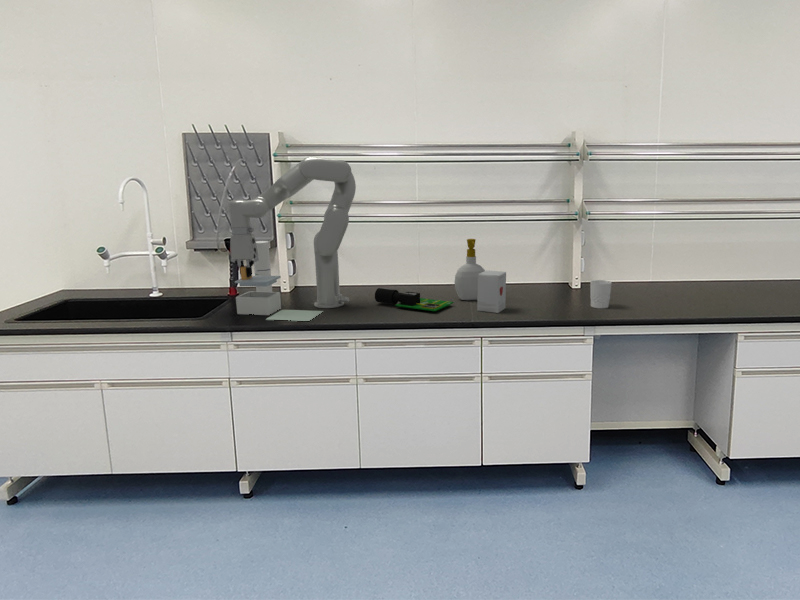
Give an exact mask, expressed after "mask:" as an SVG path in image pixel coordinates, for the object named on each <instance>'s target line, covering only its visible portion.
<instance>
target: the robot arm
mask: <svg viewBox="0 0 800 600" xmlns="http://www.w3.org/2000/svg"><path fill="white" fill-rule="evenodd" d="M314 180H315V181H323V182H333V183H334V190H333V192H332V195H331V199H330V201H329V203H328V205H327V208H326V209H325V212H324V214H323V221H322V224H321V227H320V229H319V231H318V232H317V233H316V234H315V235H314V238H313V251H314V261H315V262H314V263H315V265H314V266H315V279H316V280H315V282H316V297H317V300H316V301H315V302H313V304H314V305H313V306H314V307H315V308H318V309H334V308H339V307H342V306H344V304H345V303H349V302H350V297H348V296H344V295H343V293H341V292H340V291H341V290H340V274H339V255H338V251H339V249H340V246H341V244H342V241H343V239H344V236H345V233H346V231H347V229H348V226H349V221H350V218H349V217H350V216H349V212H350V209H351V207H352V203H353V200H354V198H355V195H356V187H357V185H356V180H355V176H354V174H353V172H352V167H351V165H350V164H349V163H348V162H347V161H345V160H342V159H333V158H324V157H323V158H321V157H316V156H306V157H305V158H304V159H302V160H301V161H300V162H298V163H297V164H296V165H294V166H293V167H292V168H290V169H289V170H288V171H287V172H285V173H284V174H283V175H281V176H280V177H279V178H278V179H276V181H275V182H274V183H273V184H272V185H270V187H268V188H266V189H265V190H263V192H261V193H260V194H259V195H258V196H256V197H255V198H253V199H249V200H247V199H233V200H230V201H229V203H228V209H229V218H230V227H231V235H230V239H229V240H230V241H229V242H230V243H229V244H230V245H229V248H230V262H232V263H234V264H235V265H236V266H237V267H238V268H239V269H240V267H243V266H245V263H246V265H247V267H246V273H247V277H250V276H253V268H252V267H254V263H255V262H257V261H259V258H258V250H257V244H256V236H255V234H254V233H253V232H254V231H255V228H254V227H253V228H252V225H251V218H256V219H261V218H264V217H265V216H266V215H268V213H269V212H270V211H272V210H273V209H274V208H276V207H277V206H278V205H279V204H281V203H282V202H284V201H285V200H287V199H289V198H291V197H293V196H294V195H296V194H297V193H298V192H300V190H302V189H303V188H304V187H307V186H308V184H310V183H311V182H312V181H314ZM253 258H254V259H253ZM244 261H245V262H244ZM239 275H240V276H241V271H240V270H239Z"/></svg>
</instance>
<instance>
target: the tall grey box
mask: <svg viewBox="0 0 800 600" xmlns="http://www.w3.org/2000/svg"><path fill="white" fill-rule="evenodd" d="M256 244H257V250H258V258H259V261H257V262H255V263H254V264H253V269H254V276H272V272H271V271H272V270H271V260H270V259H271V258H270V257H271V256H270V245H269V241H268V240H257V241H256ZM252 260H254V258H253V259H252ZM255 289H256V290H255V291H258V292H273V284H271V285H269V286H267V287H262V286H255Z"/></svg>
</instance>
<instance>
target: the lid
mask: <svg viewBox="0 0 800 600" xmlns="http://www.w3.org/2000/svg"><path fill="white" fill-rule="evenodd" d="M246 267H247V264H246V265H244V266H243V267H240V268H239V272H240V271H241V275H240V277H241V278H240V279H237V280H235V281H234V284H239V287H256V286H262V287H267V286H269V285H271V284H272V285H273V284H275V283H277V282H278V281H277V280H279V279H281V277H282V276H281V275H271V276H255V275H252V276H250V277H247V273H246Z"/></svg>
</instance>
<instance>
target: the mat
mask: <svg viewBox="0 0 800 600" xmlns="http://www.w3.org/2000/svg"><path fill="white" fill-rule="evenodd" d="M322 312H323V313H324V310H305V309H302V310H301V309H280V310H278V311H276V312H274V313H273V314H271V315H269V317H267V318H266V319H265V321H274V320H288V321H287V322H297V321H310V320H311V321H313V320H314V319H316V318H317V317H318V315H319V314H320V315H321V313H322ZM323 313H322V314H323ZM320 315H319V316H320ZM316 316H317V317H316ZM315 317H316V318H315ZM313 318H314V319H313ZM312 319H313V320H312ZM290 320H291V321H290ZM311 321H310V322H311Z"/></svg>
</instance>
